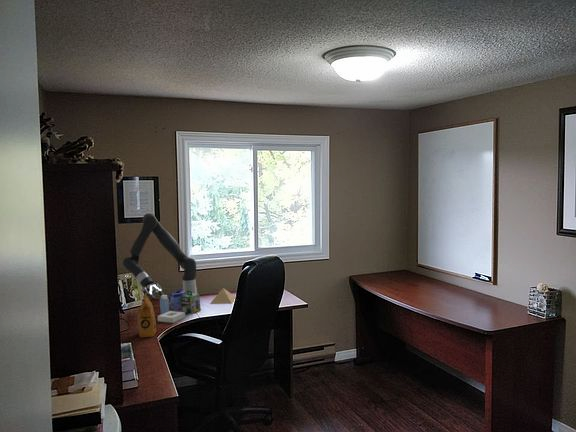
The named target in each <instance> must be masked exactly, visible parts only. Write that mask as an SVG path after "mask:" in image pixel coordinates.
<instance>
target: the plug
mask: <svg viewBox="0 0 576 432" xmlns="http://www.w3.org/2000/svg"><path fill="white" fill-rule="evenodd" d="M169 299H170V298H169V297H168V294H164V295H162V296H160V298H159V305H160V306H159V307H160V308H159V309H160V315H161V314H164V313H166V312H169V311H170V300H169Z"/></svg>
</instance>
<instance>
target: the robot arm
mask: <svg viewBox="0 0 576 432" xmlns="http://www.w3.org/2000/svg"><path fill="white" fill-rule="evenodd" d="M142 223H143V225H142V227H141V231H140V233H139V234H138V236H137V237H136V239H135V240H134V241H133V244H132V246H131V248H130V250H129V253H130V254H131V256H130V257H129V256H126V257H124V259H123V260H122V264H123V266H124V269H126V270H128V271H129V272H130V273H131V274H132V275H133V276H134V278H135V279H136V280H137V282H138V284H140V286H141V287H142V288H141V291H142V293H143V294H144V295H146V296H147V297H149V298H150V299H151V300H152V301H154V300H156V297H155V296H154V294H153V293H154V292H155V293H158V295H159V296H160V297H161V296H162V295H165V294H164V293H163V288H162V286H161V285H160V284H159V283H158V282H157V283H154V280H153V279H152V278H151V277H150V276H149V274H148V273H147V272H146V271H145V270H144V269H143V267H141V266H139V265H138V264H139V261H140V257H141V253H142V251H143V249H144V247H145V245H146V242H147V241H148V239H149V237H150V235H151V234H152V233H153V234H154V235H155V237H156V239H157V241H159V243H160V245H161V246H162V247H163V248H164V249H165V250H166V251H167V252H168V253H169V254H170V255H171V256H172V257H173V258H174V259H175V260H176V262H177V263H178V264H179V266H180V268H182V269H183V275H182V289H183V290H182V291H184V292H186V294H187V291H186V290H189V291H191V292H192V293H194V294H198V288H197V282H196V281H197V279H196V277H197V262H196V260H195V259H194V258H192V257H189V256H188V255H187V254H186V253H184V252H183V250H182V249H181V247H180V244H179V242H178V241H177V240H176V239H175V238H174V237H173V236H172V234H171V233H170V232H169V231H167V230H166V229H165V228H164V226H162V224H161V223H160V222H159V221H158V219H157V218H156V216H155V215H154V214H153V213H146V214H144V215H143V217H142ZM188 293H189V294H190V292H188Z"/></svg>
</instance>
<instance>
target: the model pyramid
mask: <svg viewBox="0 0 576 432" xmlns="http://www.w3.org/2000/svg"><path fill="white" fill-rule="evenodd" d="M235 297H236V296H235V295H234V294H232V293H231V292H229V291H228V290H227V289H225V288H222V289H221V290H220V291H219V292H218V293H217V294H216V296H215V297H214V298H213V299H212V301H211V302H210V303H209V304H210V305H222V304H223V305H225V304H226V305H227V304H228V305H231V304H233V303H234V302H235V301H234V299H235Z"/></svg>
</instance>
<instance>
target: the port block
mask: <svg viewBox="0 0 576 432" xmlns="http://www.w3.org/2000/svg"><path fill="white" fill-rule="evenodd" d="M185 318H186V313H185V312H182V311H177V312H176V311H171V310H169V312H166V313H164V314H161V313H160V314H159V315H157V322H158V323H166V324H167V323H169V324H174V323H177V322H180V321H181V320H184V319H185Z"/></svg>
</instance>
